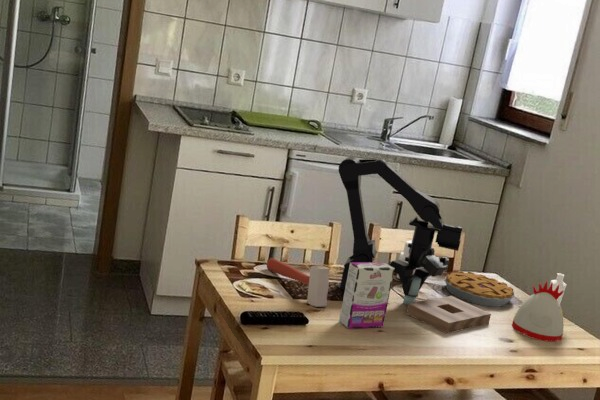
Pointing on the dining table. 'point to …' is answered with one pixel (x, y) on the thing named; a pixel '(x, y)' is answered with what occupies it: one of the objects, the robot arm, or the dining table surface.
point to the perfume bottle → (561, 285)
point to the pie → (478, 289)
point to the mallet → (306, 280)
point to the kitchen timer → (541, 315)
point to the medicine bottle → (404, 253)
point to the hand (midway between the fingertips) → (410, 294)
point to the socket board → (448, 314)
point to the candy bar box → (366, 294)
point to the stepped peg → (412, 291)
